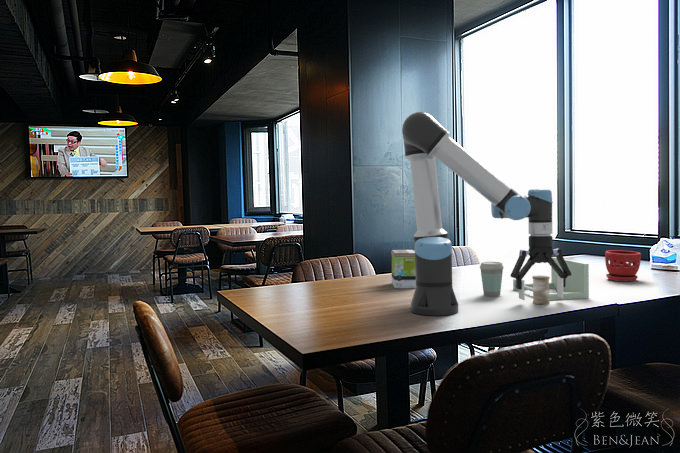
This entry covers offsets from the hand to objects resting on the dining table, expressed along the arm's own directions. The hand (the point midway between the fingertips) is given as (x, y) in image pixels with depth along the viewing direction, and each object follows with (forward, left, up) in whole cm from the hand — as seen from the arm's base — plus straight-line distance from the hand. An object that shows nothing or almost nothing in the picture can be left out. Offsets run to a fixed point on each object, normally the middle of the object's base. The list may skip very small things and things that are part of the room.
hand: (541, 298), depth 180 cm
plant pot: (+54, +37, -2) cm, 65 cm away
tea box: (-36, +48, -2) cm, 60 cm away
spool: (0, 0, -2) cm, 2 cm away
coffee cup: (-10, +18, -2) cm, 21 cm away
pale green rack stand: (+11, +16, -2) cm, 19 cm away
